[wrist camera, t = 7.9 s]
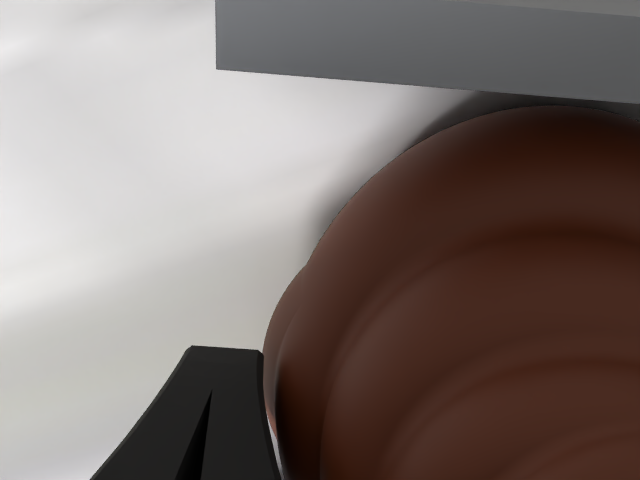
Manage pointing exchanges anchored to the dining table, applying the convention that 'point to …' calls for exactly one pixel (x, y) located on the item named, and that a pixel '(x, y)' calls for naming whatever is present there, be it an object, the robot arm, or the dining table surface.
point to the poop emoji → (472, 311)
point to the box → (442, 43)
